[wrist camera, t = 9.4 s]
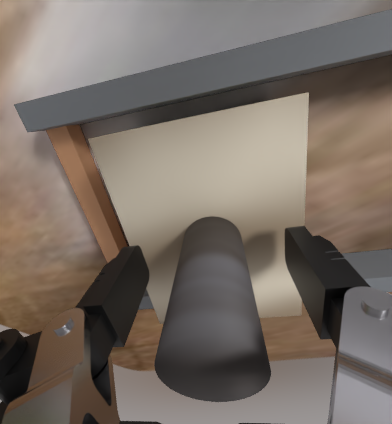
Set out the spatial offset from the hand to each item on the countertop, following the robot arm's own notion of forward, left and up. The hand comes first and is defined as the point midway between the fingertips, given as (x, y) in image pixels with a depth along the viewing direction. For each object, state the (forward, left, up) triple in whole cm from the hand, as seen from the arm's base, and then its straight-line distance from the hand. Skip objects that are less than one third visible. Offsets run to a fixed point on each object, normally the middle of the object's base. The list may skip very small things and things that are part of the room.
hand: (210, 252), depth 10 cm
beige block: (0, 0, -7) cm, 7 cm away
